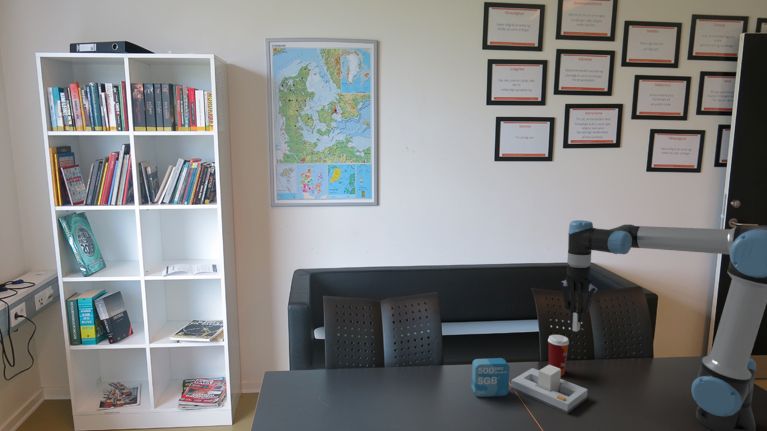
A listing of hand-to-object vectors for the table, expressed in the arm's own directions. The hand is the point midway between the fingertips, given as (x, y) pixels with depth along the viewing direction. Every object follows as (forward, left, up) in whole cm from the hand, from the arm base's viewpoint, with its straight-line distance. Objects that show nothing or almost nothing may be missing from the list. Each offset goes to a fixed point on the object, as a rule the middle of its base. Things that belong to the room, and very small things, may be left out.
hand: (576, 330), depth 166 cm
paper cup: (+9, -6, -22) cm, 25 cm away
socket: (+3, +11, -22) cm, 24 cm away
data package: (+17, +26, -22) cm, 38 cm away
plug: (+3, +9, -21) cm, 23 cm away
